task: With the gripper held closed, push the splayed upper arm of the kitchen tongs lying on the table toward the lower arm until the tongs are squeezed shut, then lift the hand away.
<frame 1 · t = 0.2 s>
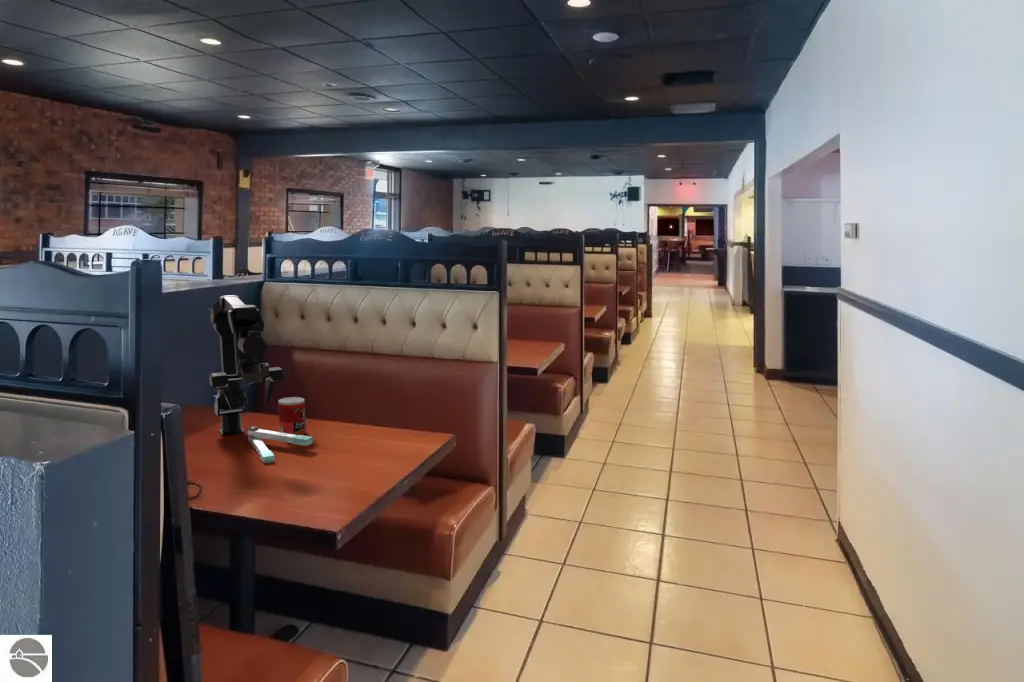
hand: (249, 407, 177), 15 cm above the table, tool pointing down, fingers open, 9 cm apart
canned food: (293, 434, 201), on the table
tong arm: (278, 435, 189), point 3 cm above the table, hinge at 35.0°
tongs lower: (254, 441, 193), on the table
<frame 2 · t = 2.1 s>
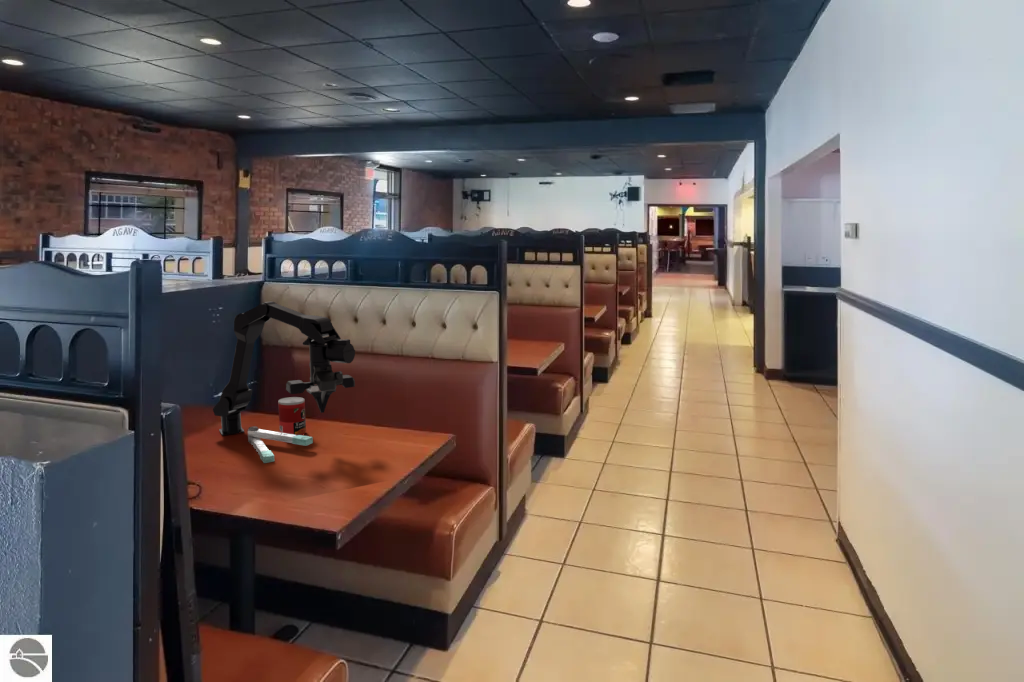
hand: (322, 412, 189), 10 cm above the table, tool pointing down, fingers closed
nothing on the table moved.
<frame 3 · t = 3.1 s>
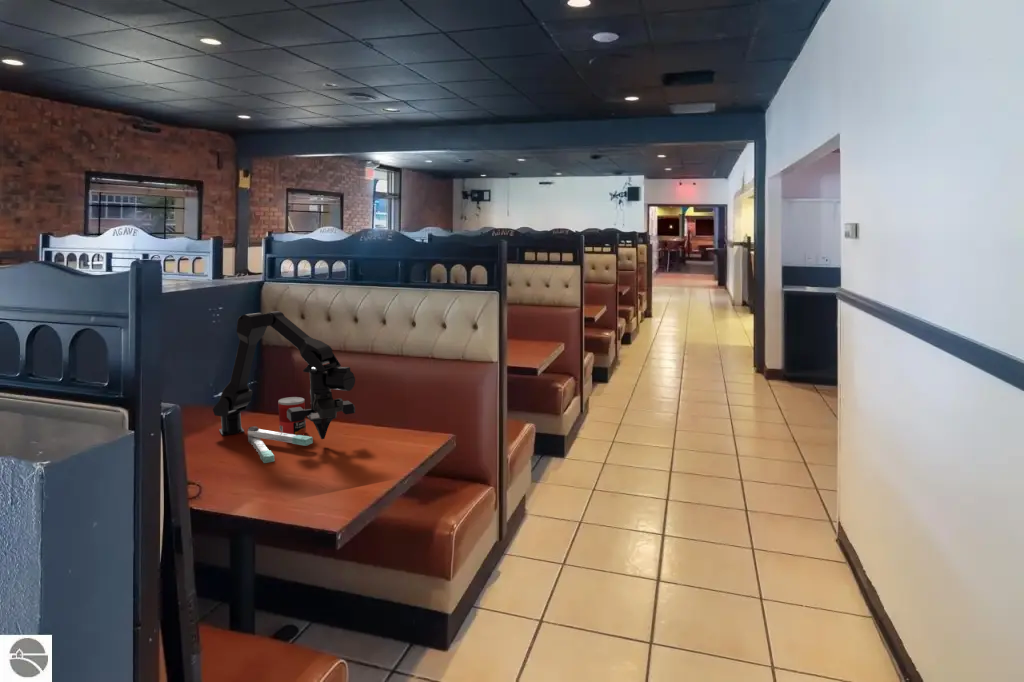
hand: (322, 438, 190), 2 cm above the table, tool pointing down, fingers closed
nothing on the table moved.
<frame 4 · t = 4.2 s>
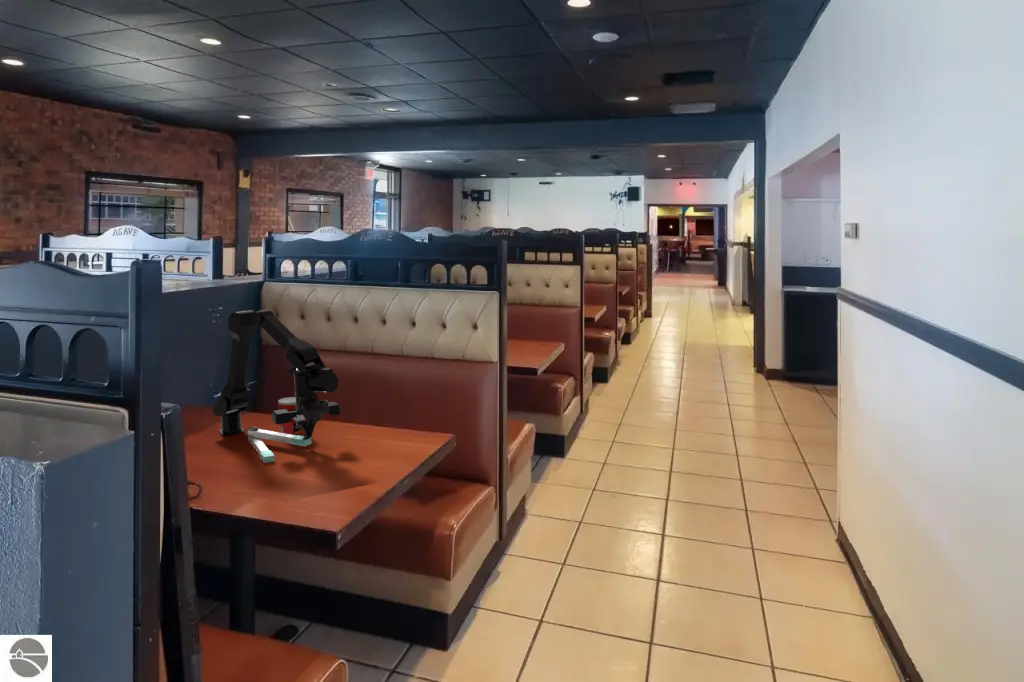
hand: (308, 440, 188), 2 cm above the table, tool pointing down, fingers closed
tong arm: (278, 435, 189), point 3 cm above the table, hinge at 33.4°, touching gripper
everything else where it was.
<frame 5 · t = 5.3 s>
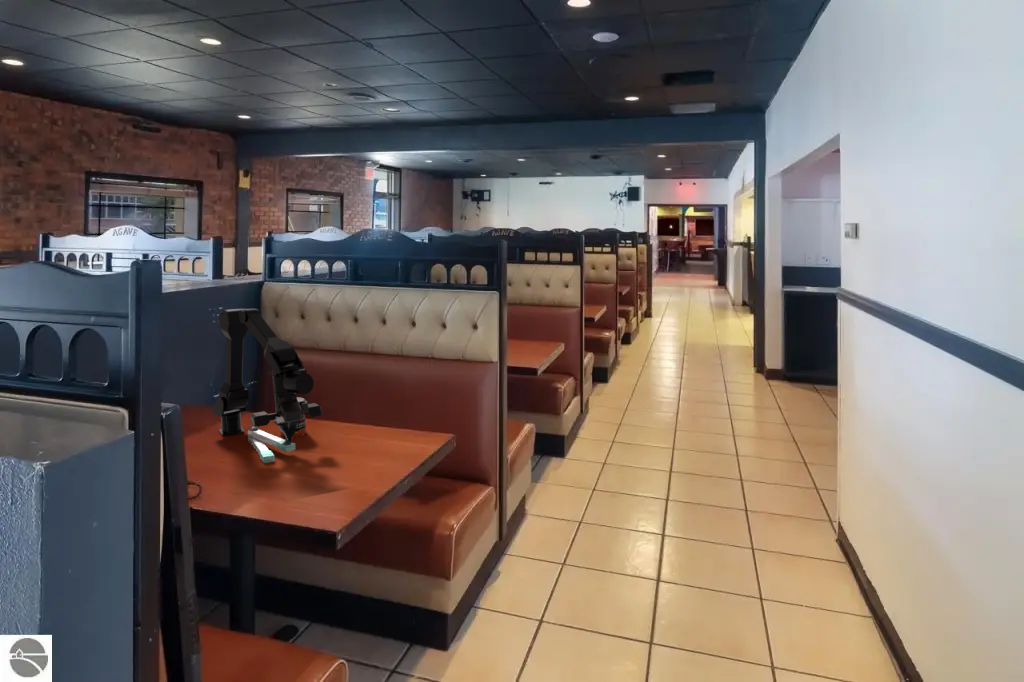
hand: (289, 443, 184), 2 cm above the table, tool pointing down, fingers closed
tong arm: (269, 438, 186), point 3 cm above the table, hinge at 16.9°, touching gripper
everything else where it was.
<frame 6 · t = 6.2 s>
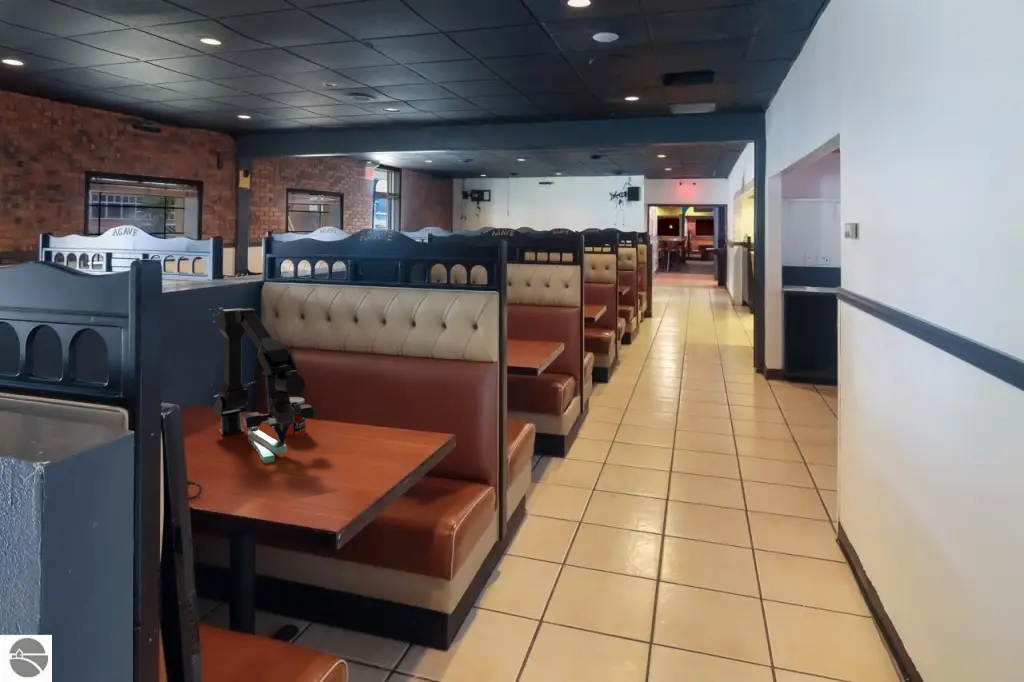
hand: (282, 444, 183), 2 cm above the table, tool pointing down, fingers closed
tong arm: (265, 439, 186), point 3 cm above the table, hinge at 9.6°, touching gripper
everything else where it was.
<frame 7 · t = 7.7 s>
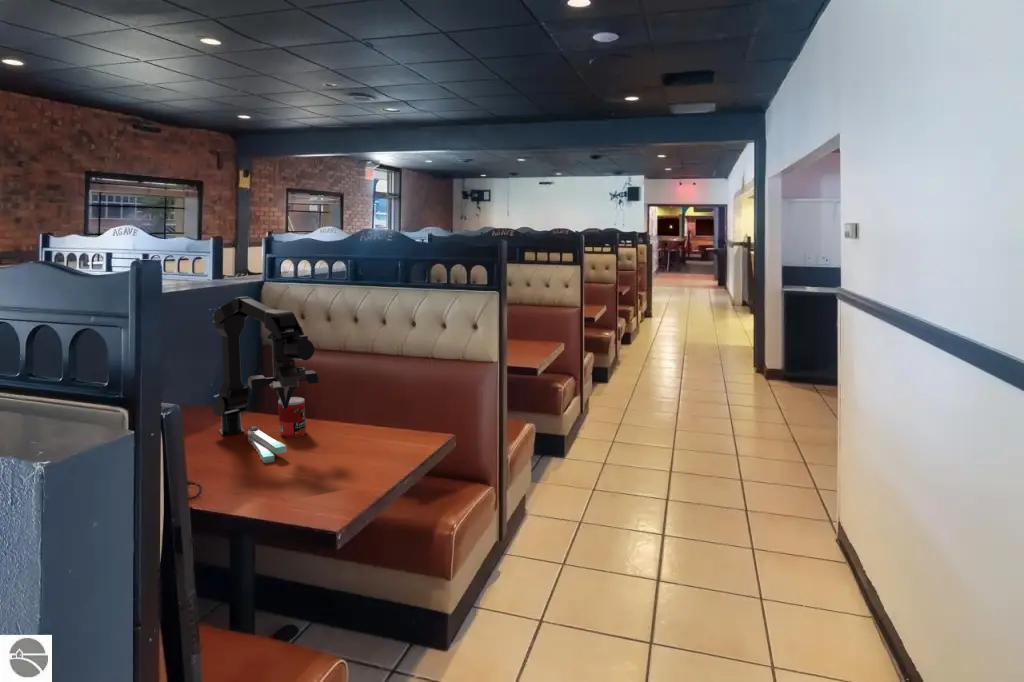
hand: (285, 408, 186), 12 cm above the table, tool pointing down, fingers closed
tong arm: (265, 439, 186), point 3 cm above the table, hinge at 9.3°
everything else where it was.
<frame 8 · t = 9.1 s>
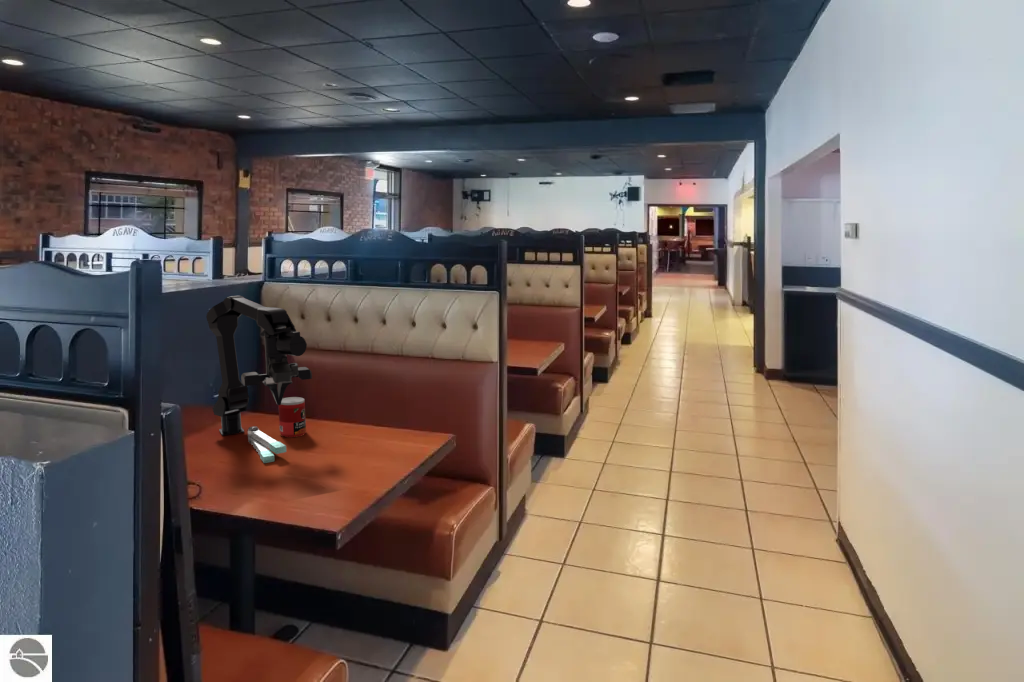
hand: (278, 404, 188), 13 cm above the table, tool pointing down, fingers closed
nothing on the table moved.
at the end: tong arm at +9° (first picture: +35°); canned food moved 0.2 cm from its start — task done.
